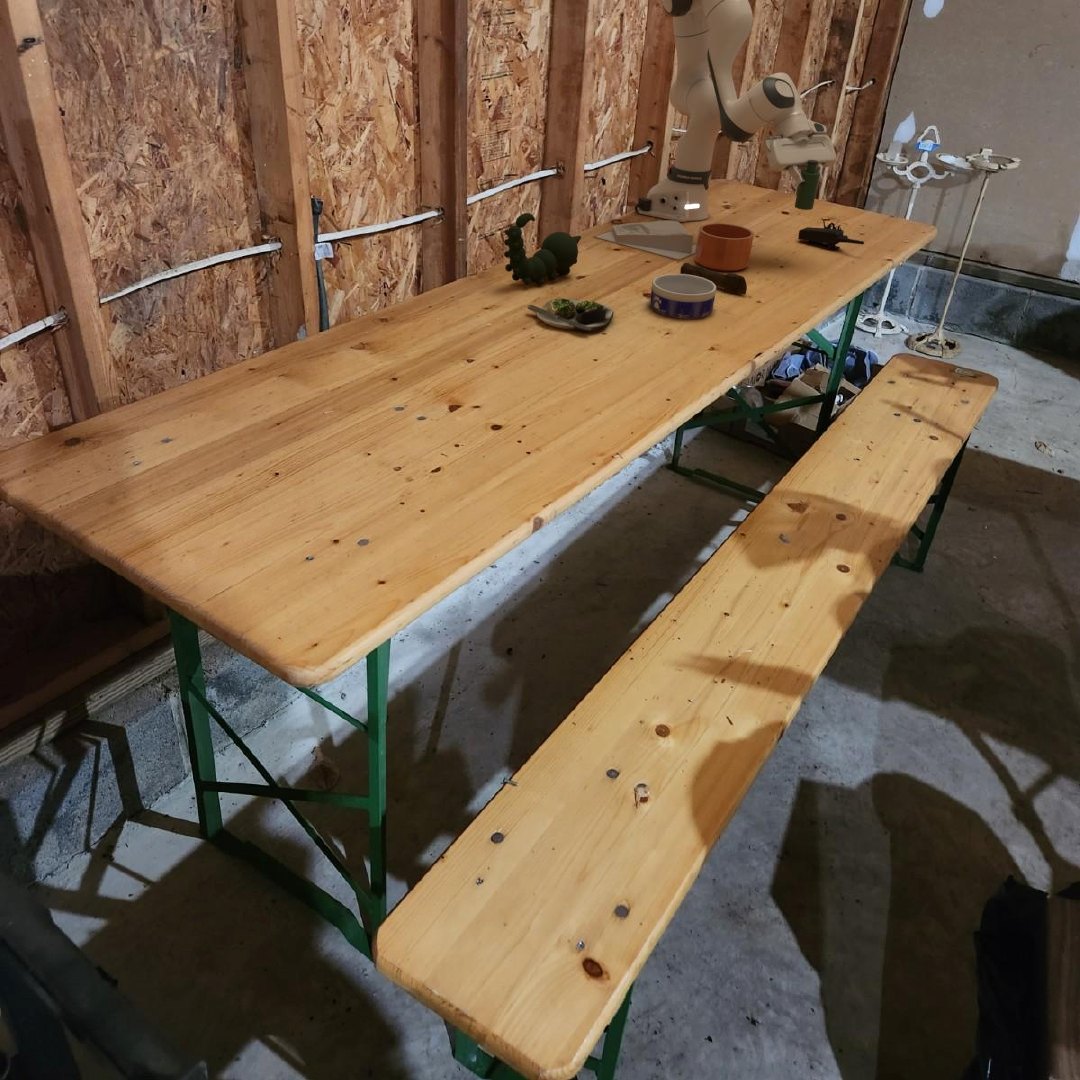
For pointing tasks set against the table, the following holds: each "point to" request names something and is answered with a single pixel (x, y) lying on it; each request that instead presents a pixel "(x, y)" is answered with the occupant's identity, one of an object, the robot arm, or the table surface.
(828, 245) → the walkie-talkie
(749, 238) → the pot
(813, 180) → the plant food bottle
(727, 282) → the dark brown rough bar
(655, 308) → the dog bowl
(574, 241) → the toy figurine
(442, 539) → the table surface
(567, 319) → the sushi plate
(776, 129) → the robot arm
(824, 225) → the creature
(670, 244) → the ramp
